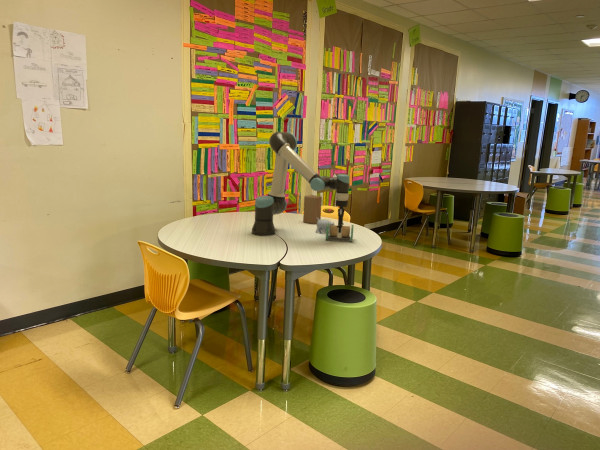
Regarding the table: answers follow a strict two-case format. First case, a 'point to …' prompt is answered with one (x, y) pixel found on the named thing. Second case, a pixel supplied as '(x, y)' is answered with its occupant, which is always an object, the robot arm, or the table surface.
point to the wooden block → (312, 209)
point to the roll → (344, 231)
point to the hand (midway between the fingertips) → (339, 236)
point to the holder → (343, 239)
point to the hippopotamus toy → (323, 226)
